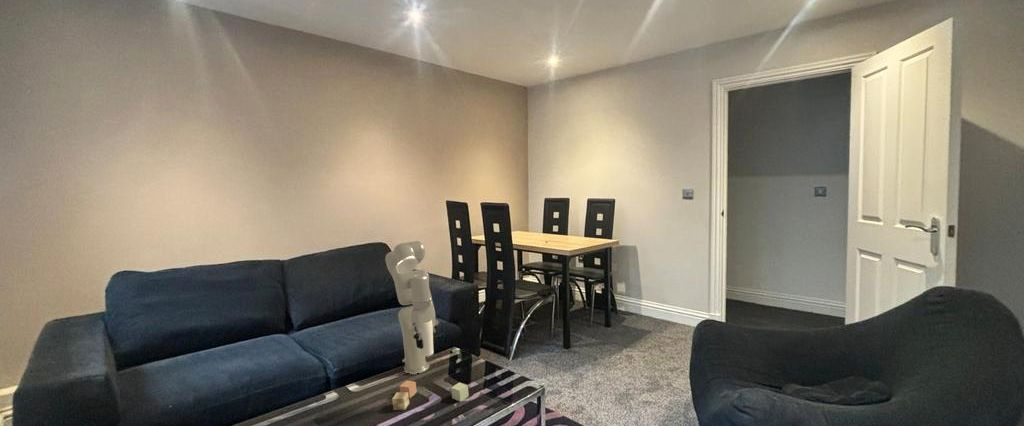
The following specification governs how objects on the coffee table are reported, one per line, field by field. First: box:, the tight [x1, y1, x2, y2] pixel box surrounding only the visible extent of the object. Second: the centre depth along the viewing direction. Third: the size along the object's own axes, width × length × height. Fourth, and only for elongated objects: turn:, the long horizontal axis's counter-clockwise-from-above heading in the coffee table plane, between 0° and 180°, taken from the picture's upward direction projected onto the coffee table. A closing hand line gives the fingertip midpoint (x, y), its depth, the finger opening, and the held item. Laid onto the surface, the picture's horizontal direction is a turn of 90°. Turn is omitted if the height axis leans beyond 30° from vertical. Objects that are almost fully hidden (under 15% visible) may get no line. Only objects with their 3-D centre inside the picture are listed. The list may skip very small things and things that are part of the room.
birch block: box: [391, 391, 410, 411], centre depth 190 cm, size 5×5×5 cm
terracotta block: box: [399, 380, 418, 399], centre depth 199 cm, size 5×5×5 cm
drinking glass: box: [418, 320, 435, 358], centre depth 191 cm, size 7×7×15 cm
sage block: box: [450, 382, 470, 402], centre depth 193 cm, size 5×5×5 cm
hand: (426, 344), depth 191 cm, fingers closed on drinking glass, 6 cm apart
